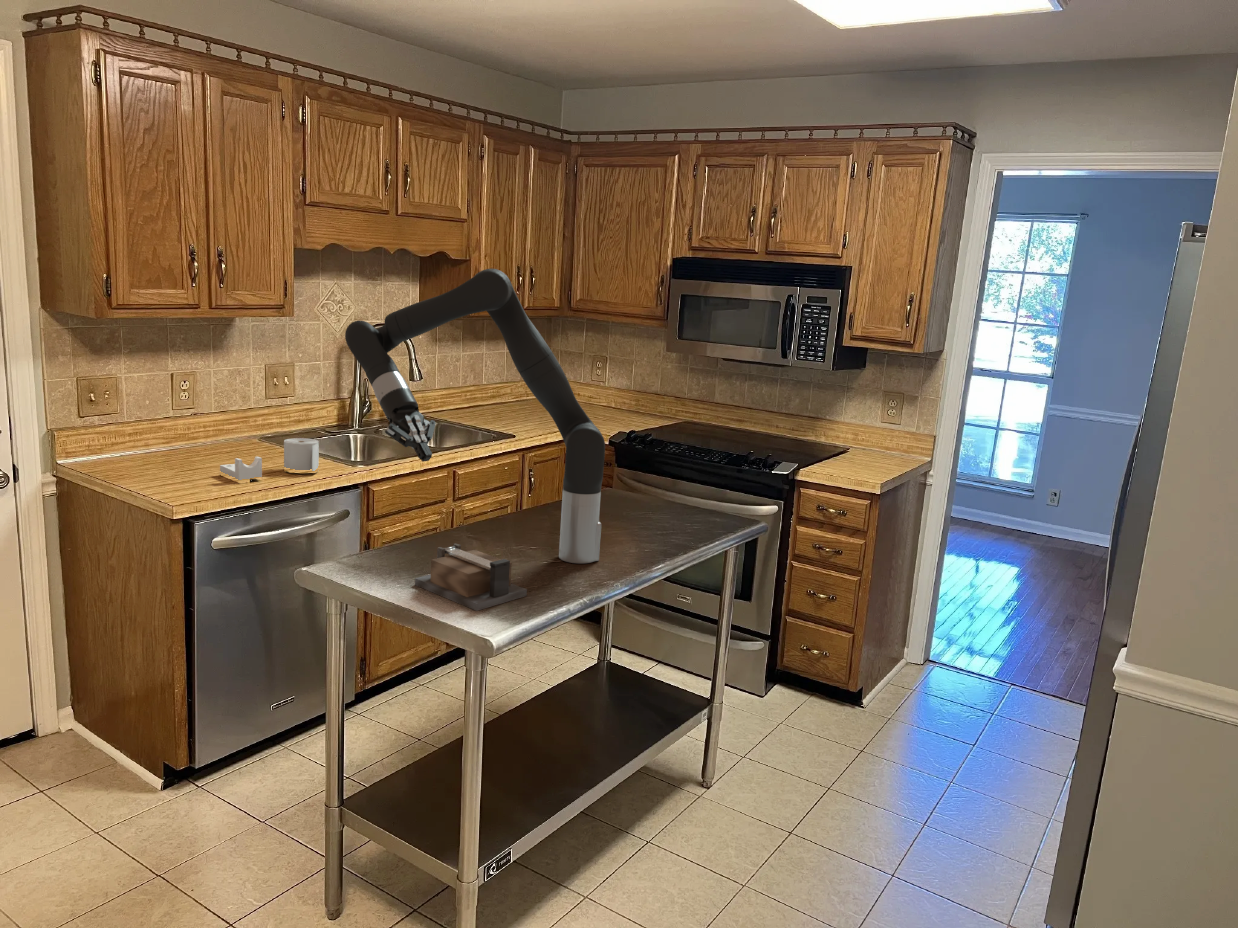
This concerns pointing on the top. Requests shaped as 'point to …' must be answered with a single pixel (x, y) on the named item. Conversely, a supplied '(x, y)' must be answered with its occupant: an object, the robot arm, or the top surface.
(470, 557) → the strap
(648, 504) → the top surface
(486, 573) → the latch block
